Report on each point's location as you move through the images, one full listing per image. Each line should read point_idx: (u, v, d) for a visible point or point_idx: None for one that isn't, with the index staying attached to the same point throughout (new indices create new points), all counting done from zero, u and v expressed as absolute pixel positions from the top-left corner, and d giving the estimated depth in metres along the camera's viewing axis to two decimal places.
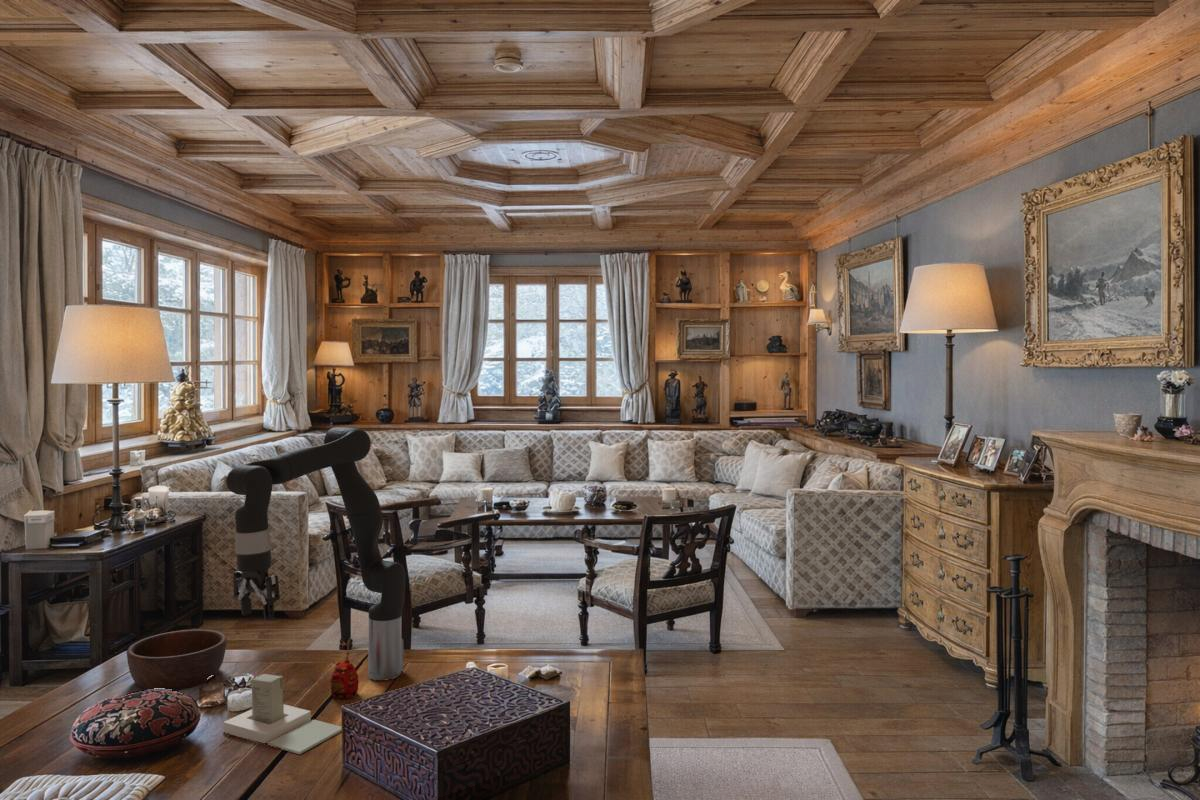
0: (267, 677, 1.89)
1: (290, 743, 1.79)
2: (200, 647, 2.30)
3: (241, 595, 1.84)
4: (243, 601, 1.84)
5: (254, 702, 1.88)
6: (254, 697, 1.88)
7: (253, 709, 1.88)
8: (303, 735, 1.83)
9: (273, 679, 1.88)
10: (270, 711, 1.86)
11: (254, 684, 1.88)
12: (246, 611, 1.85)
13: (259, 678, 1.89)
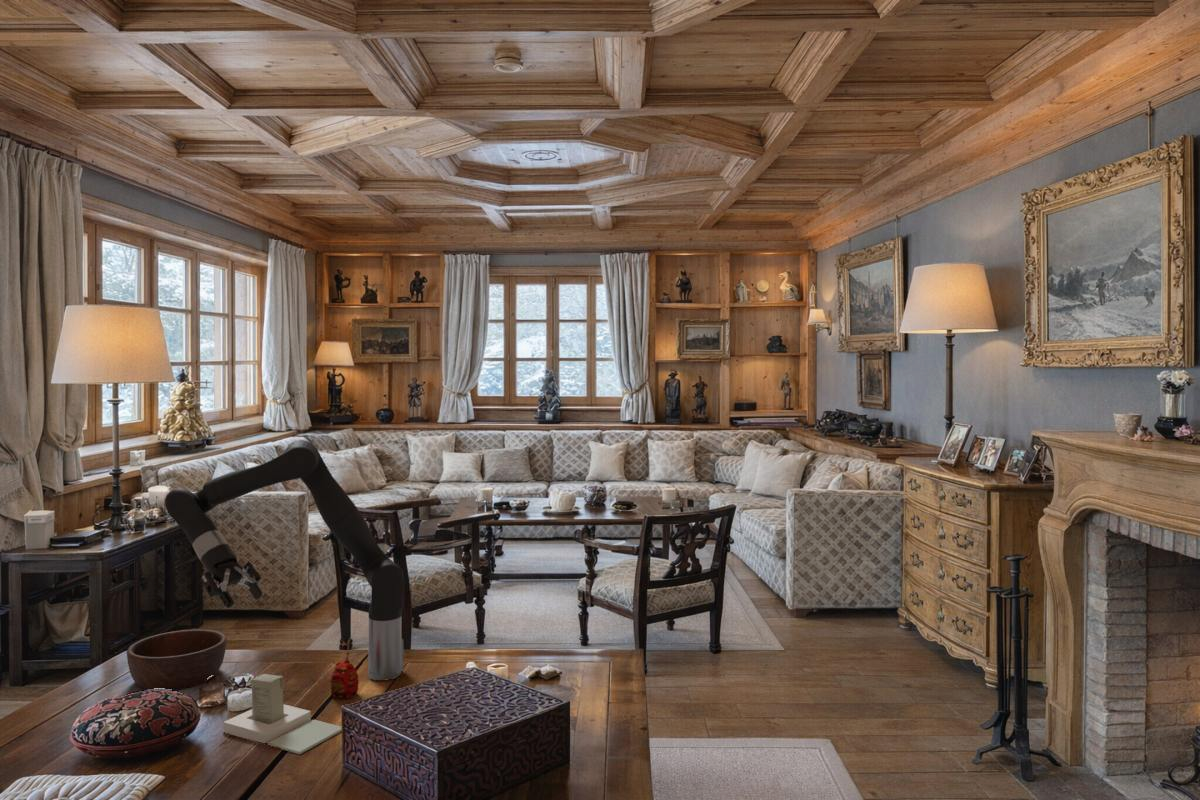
0: (267, 677, 1.89)
1: (290, 743, 1.79)
2: (200, 647, 2.30)
3: None
4: (249, 589, 2.01)
5: (254, 702, 1.88)
6: (254, 697, 1.88)
7: (253, 709, 1.88)
8: (303, 735, 1.83)
9: (273, 679, 1.88)
10: (270, 711, 1.86)
11: (254, 684, 1.88)
12: (256, 596, 2.00)
13: (259, 678, 1.89)
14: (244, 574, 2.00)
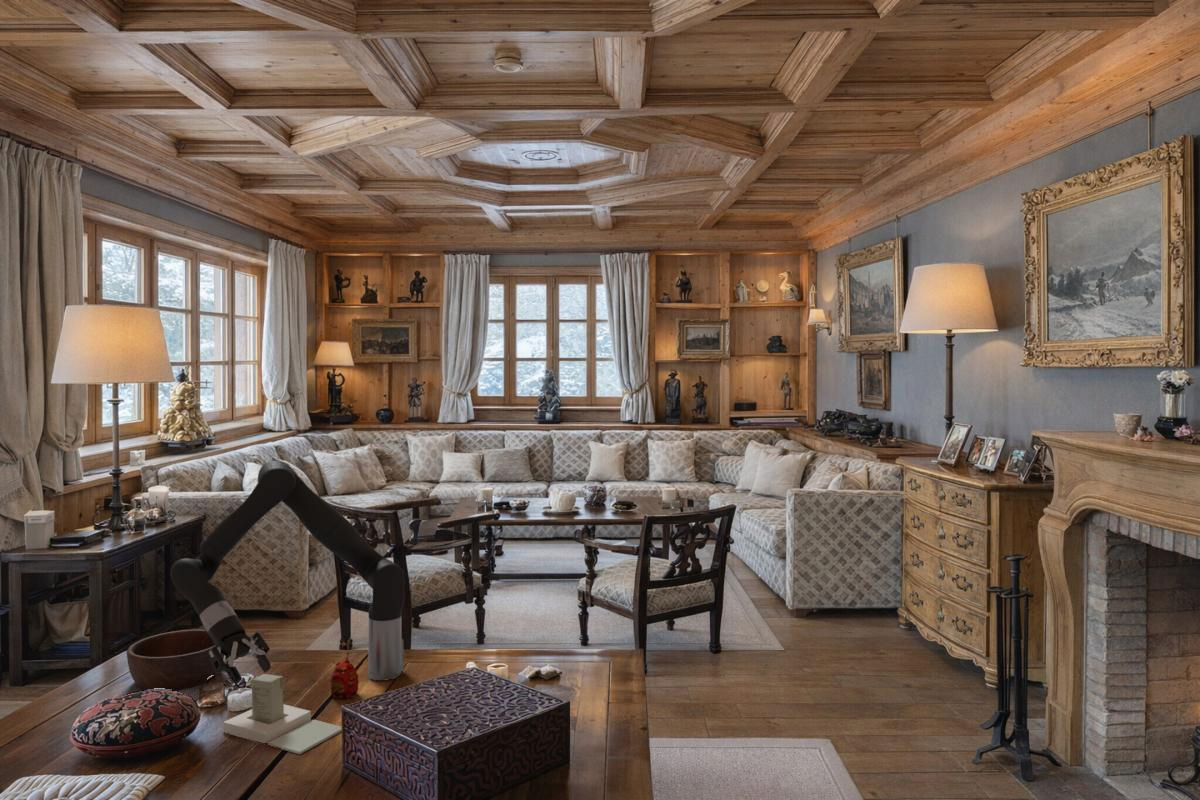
0: (267, 677, 1.89)
1: (290, 743, 1.79)
2: (200, 647, 2.30)
3: None
4: (258, 661, 1.96)
5: (254, 702, 1.88)
6: (254, 697, 1.88)
7: (253, 709, 1.88)
8: (303, 735, 1.83)
9: (273, 679, 1.88)
10: (270, 711, 1.86)
11: (254, 684, 1.88)
12: (264, 668, 1.95)
13: (259, 678, 1.89)
14: (252, 646, 1.95)
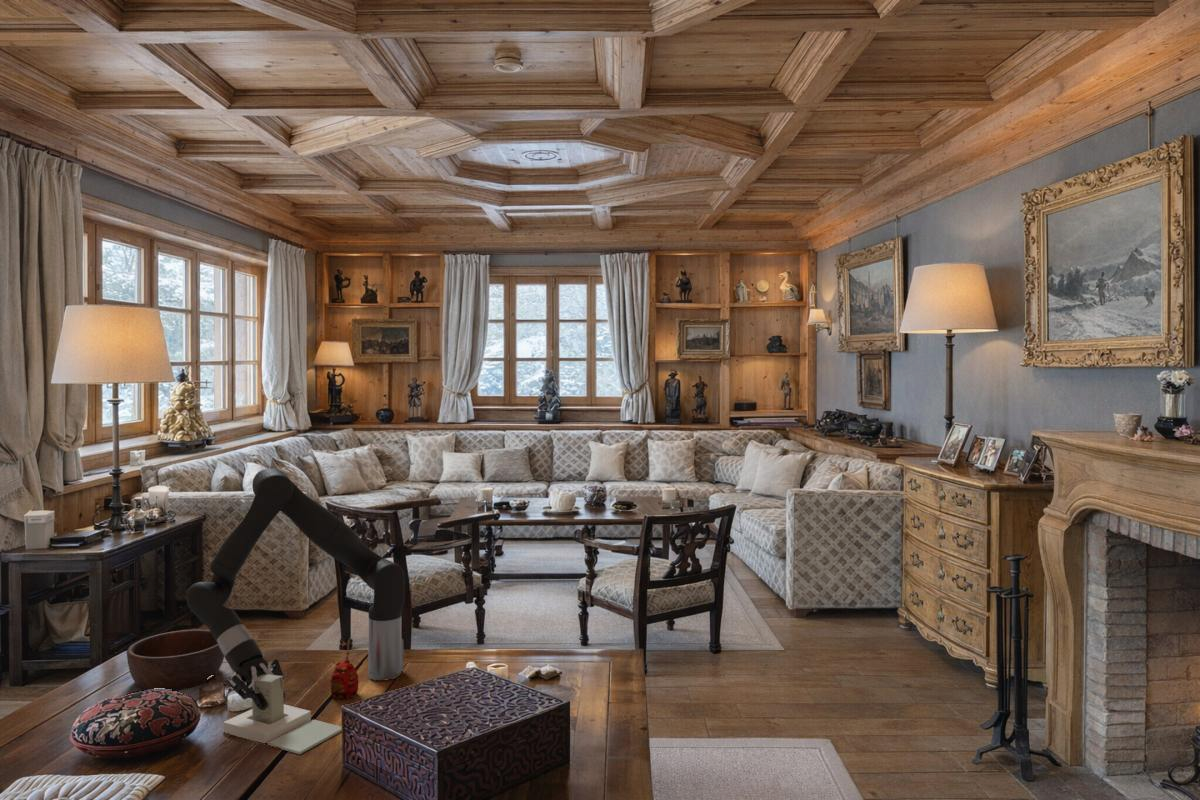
0: (267, 677, 1.89)
1: (290, 743, 1.79)
2: (200, 647, 2.30)
3: None
4: None
5: (254, 702, 1.88)
6: None
7: (253, 709, 1.88)
8: (303, 735, 1.83)
9: (273, 678, 1.88)
10: (270, 711, 1.86)
11: None
12: None
13: (260, 678, 1.89)
14: (268, 673, 1.92)
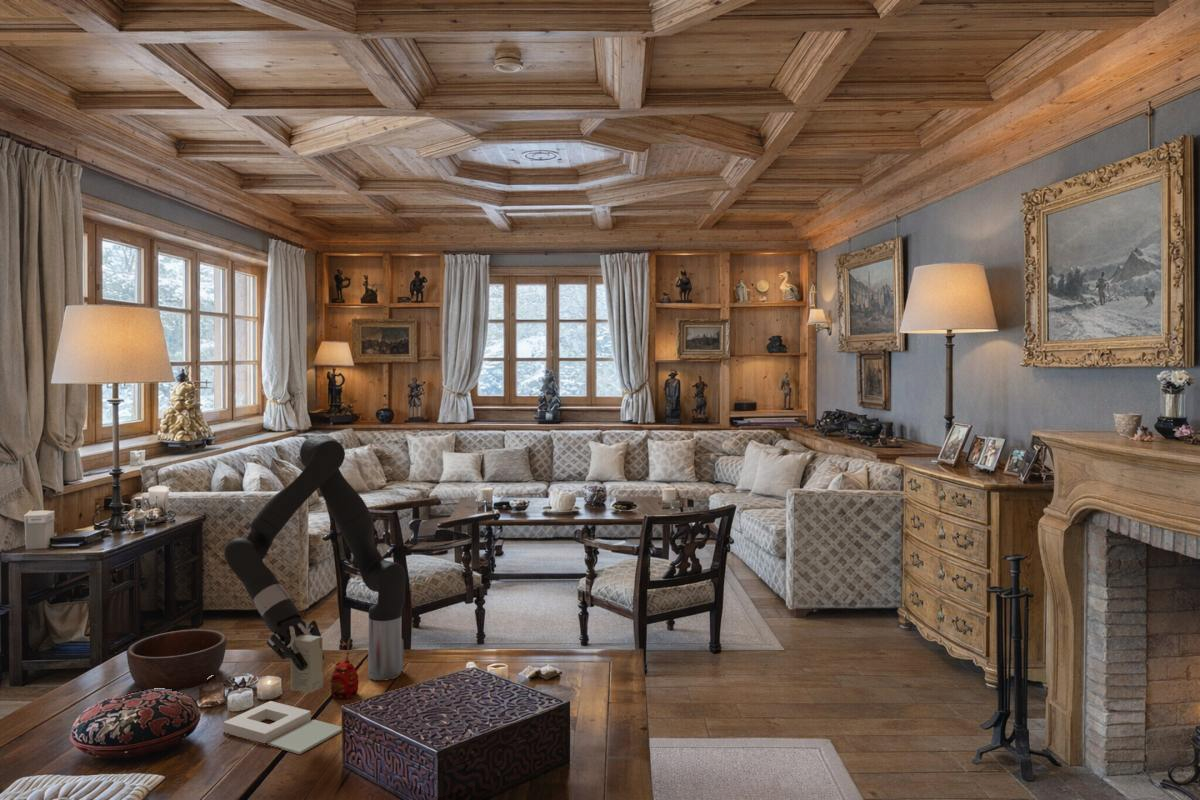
0: (306, 637, 1.83)
1: (290, 743, 1.79)
2: (200, 647, 2.30)
3: None
4: None
5: (293, 662, 1.82)
6: None
7: (292, 670, 1.82)
8: (303, 735, 1.83)
9: (312, 638, 1.82)
10: (309, 672, 1.81)
11: None
12: None
13: (298, 637, 1.83)
14: (306, 633, 1.86)
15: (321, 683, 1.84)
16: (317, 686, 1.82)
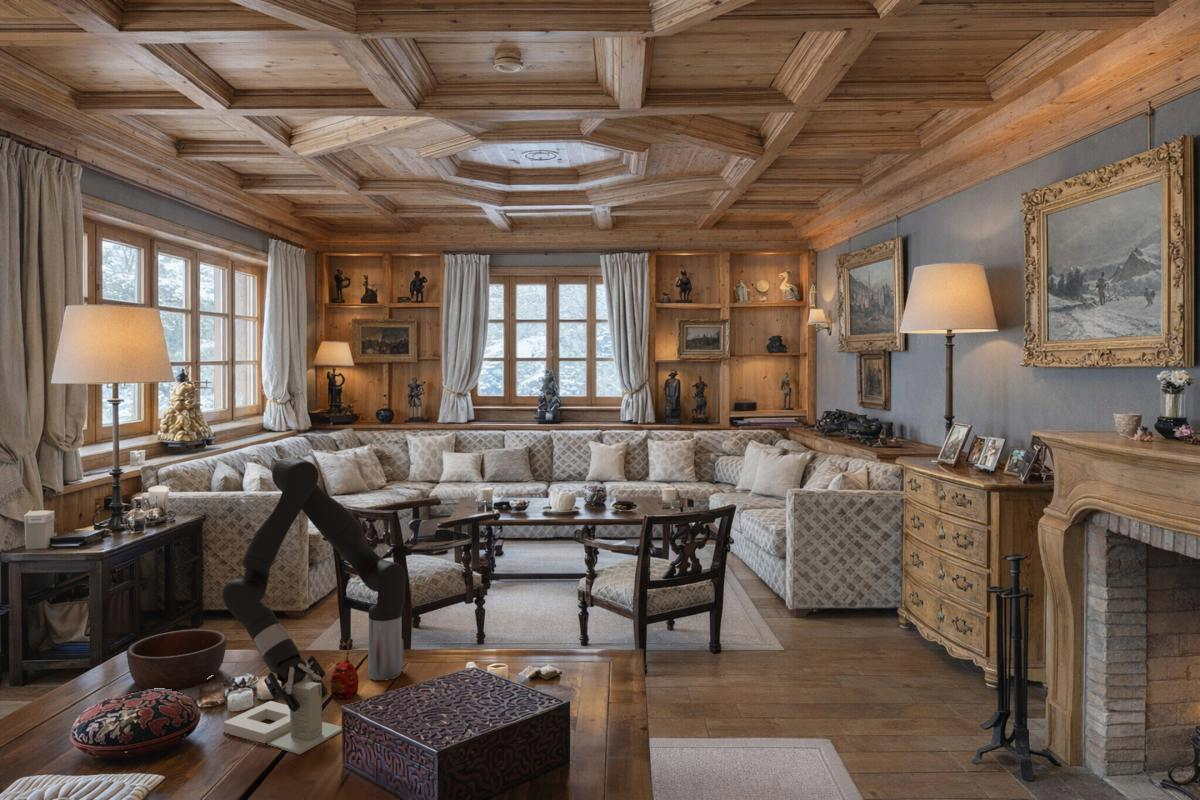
0: (305, 684, 1.83)
1: (290, 743, 1.79)
2: (200, 647, 2.30)
3: None
4: None
5: None
6: None
7: (291, 717, 1.82)
8: None
9: (311, 686, 1.82)
10: (308, 720, 1.81)
11: (292, 691, 1.82)
12: None
13: (298, 684, 1.83)
14: (308, 671, 1.87)
15: (320, 730, 1.84)
16: (316, 733, 1.82)
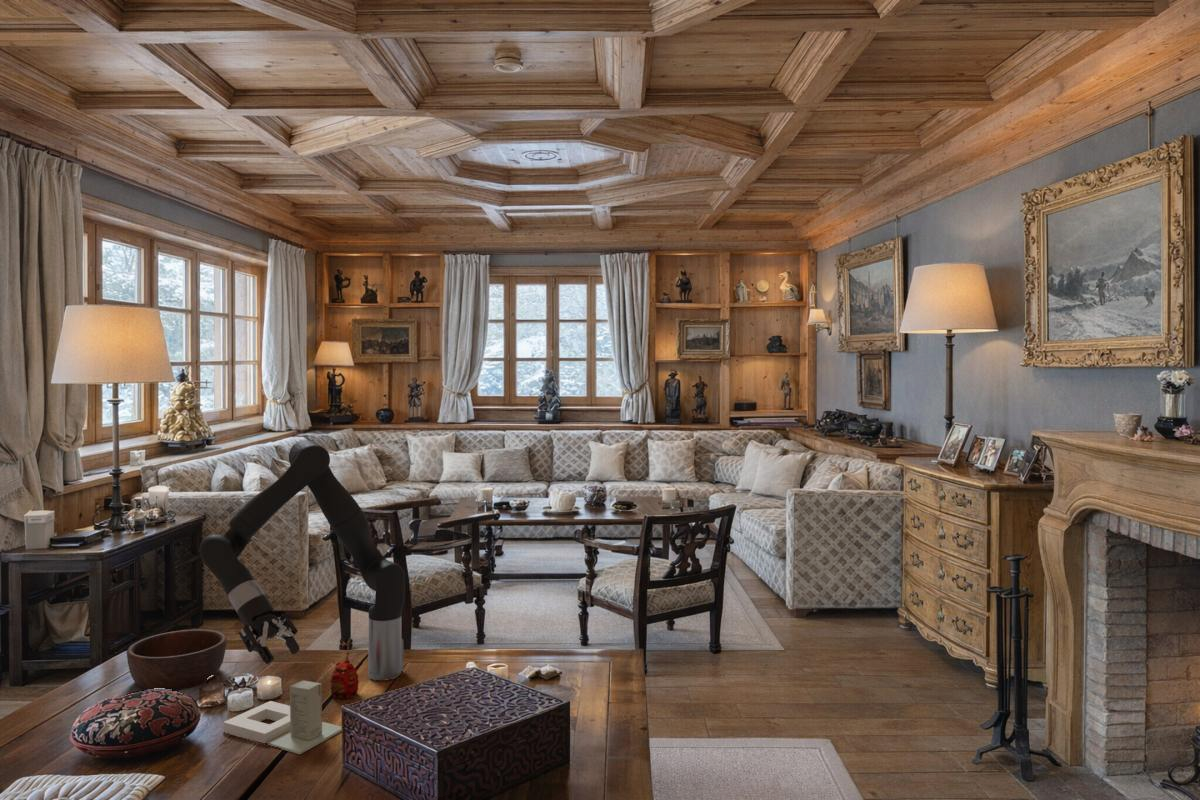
0: (305, 684, 1.83)
1: (290, 743, 1.79)
2: (200, 647, 2.30)
3: None
4: (286, 643, 1.92)
5: (292, 709, 1.82)
6: (292, 704, 1.82)
7: (291, 717, 1.82)
8: None
9: (311, 686, 1.82)
10: (308, 720, 1.81)
11: (292, 691, 1.82)
12: (293, 650, 1.92)
13: (298, 684, 1.83)
14: (282, 627, 1.91)
15: (320, 730, 1.84)
16: (316, 733, 1.82)
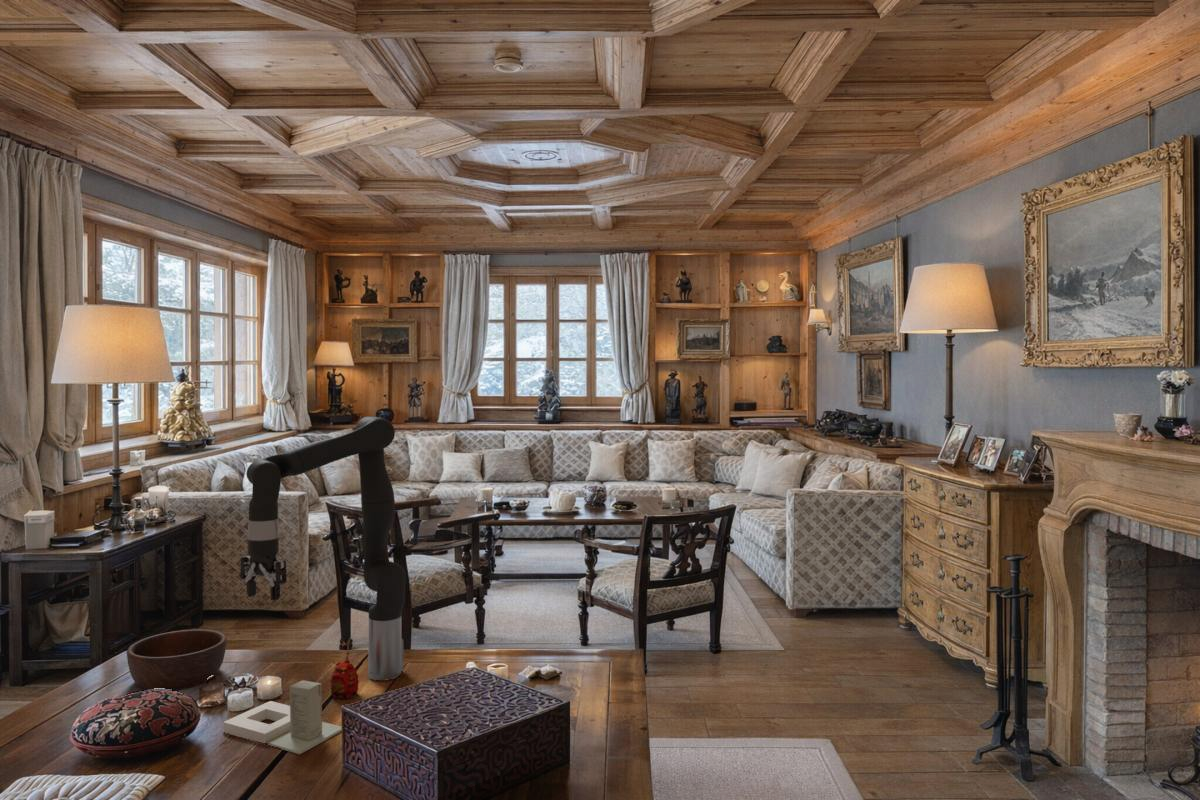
0: (305, 684, 1.83)
1: (290, 743, 1.79)
2: (200, 647, 2.30)
3: (248, 578, 2.02)
4: (249, 583, 2.03)
5: (292, 709, 1.82)
6: (292, 704, 1.82)
7: (291, 717, 1.82)
8: None
9: (311, 686, 1.82)
10: (308, 720, 1.81)
11: (292, 691, 1.82)
12: (251, 593, 2.03)
13: (298, 684, 1.83)
14: None
15: (320, 730, 1.84)
16: (316, 733, 1.82)
